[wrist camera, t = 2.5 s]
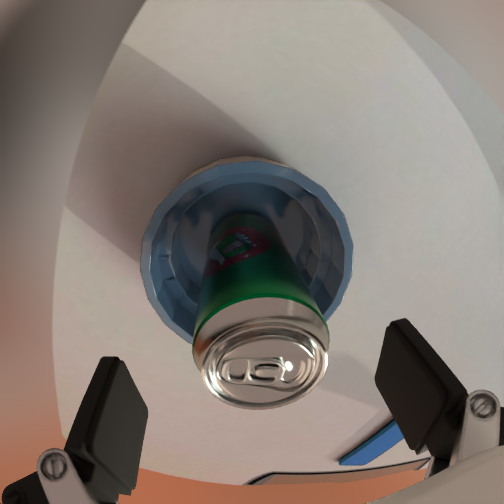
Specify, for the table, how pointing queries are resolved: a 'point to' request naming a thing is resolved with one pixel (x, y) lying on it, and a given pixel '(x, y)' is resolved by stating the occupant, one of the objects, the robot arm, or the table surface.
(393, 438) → the smartphone
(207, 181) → the bowl
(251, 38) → the table surface
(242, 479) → the table surface
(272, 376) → the soda can
